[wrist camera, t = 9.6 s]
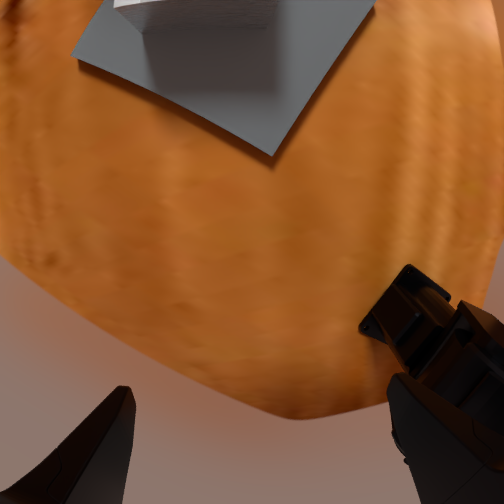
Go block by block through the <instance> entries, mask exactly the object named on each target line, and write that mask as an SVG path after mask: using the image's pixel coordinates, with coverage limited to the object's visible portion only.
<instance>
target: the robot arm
mask: <svg viewBox="0 0 504 504" xmlns="http://www.w3.org/2000/svg"><path fill="white" fill-rule="evenodd" d="M410 269H411V270H410ZM409 270H410V272H409V273H408V271H409ZM450 300H451V295H450V294H449V293H448V292H447V291H445V290H444V289H443V288H442V287H440V286H439V285H438V284H436V283H435V282H434V281H433V280H431V279H430V278H429V277H427V276H426V275H425V274H423V273H422V272H421V271H420V270H418V269H417V268H416V267H414V266H413V265H411V264H407V265H406V266H405V267H404V268H403V269H402V271H401V272H400V273H399V275H398V276H397V277H396V279H395V280H394V281H393V283H392V284H391V285H390V287H389V288H388V289H387V291H386V292H385V293H384V295H383V296H382V297H381V298H380V300H379V301H378V302H377V304H376V305H375V306H374V307H373V309H372V310H371V311H370V312H369V313H368V315H367V316H366V317H365V318H364V320H363V321H362V322H361V323H360V325H359V328H360V330H361V332H362V333H364V334H366V335H368V336H370V337H373V338H375V339H377V340H379V341H381V342H383V343H385V344H387V345H389V347H390V349H391V350H392V352H393V353H394V355H395V357H396V358H397V360H398V361H399V363H400V365H401V366H402V368H403V370H404V371H405V373H404V372H401V373H395V374H394V375H393V376H392V378H391V380H390V383H389V385H388V388H387V398H388V401H389V406H390V413H391V421H392V432H391V433H392V437H393V439H394V442H395V444H396V446H397V448H398V449H399V451H400V452H401V453H402V454H403V455H404V456H405V457H406V458H405V459H404V462H405V463H406V464H407V465H409V468H410V471H411V474H412V477H413V480H414V483H415V486H416V489H417V492H418V495H419V498H420V502H421V504H504V324H502V323H501V322H500V321H499V320H498V319H497V318H496V317H494V316H493V315H492V314H490V313H488V312H486V311H484V310H482V309H480V308H478V307H476V306H474V305H472V304H469V303H467V302H465V301H463V300H461V301H460V302H459V304H458V306H457V310H455V309H454V308H453V307H452V306H451V305H450V304H449V301H450ZM365 326H367V327H365ZM364 327H365V328H364ZM135 414H136V403H135V399H134V396H133V393H132V390H131V388H130V387H129V386H117V387H116V388H115V389H114V391H112V392H111V393H110V394H109V395H108V396H107V397H106V398H105V399H104V400H103V402H101V403H100V404H99V405H98V406H97V407H96V408H95V409H94V410H93V411H92V412H91V414H89V415H88V416H87V418H85V419H84V420H83V421H82V422H81V423H80V425H79V426H77V427H76V428H75V430H73V432H71V433H70V434H69V436H67V437H66V438H65V440H63V442H62V443H61V444H60V445H59V446H58V447H57V448H55V449H54V450H53V451H52V452H51V454H50V455H49V456H47V457H46V458H45V459H44V460H43V461H42V462H41V463H40V464H39V465H37V466H36V467H35V468H34V469H33V470H31V471H30V472H29V473H28V474H26V475H25V476H24V477H22V478H21V479H20V480H18V481H17V482H16V483H15V484H13V485H12V486H11V487H9V488H8V489H6V490H4V491H2V492H0V504H122V500H123V494H124V489H125V483H126V478H127V473H128V467H129V462H130V457H131V452H132V447H133V436H134V424H135Z"/></svg>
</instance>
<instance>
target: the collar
mask: <svg viewBox="0 0 504 504" xmlns="http://www.w3.org/2000/svg"><path fill="white" fill-rule="evenodd" d="M279 1H280V0H114V7H113V8H114V9H115V10H117V11H118V12H119V13H120V14H121V15H122V16H123V17H124V18H125V19H126V20H127V21H128V22H130V23H131V24H132V25H133V26H134V27H135V28H136V29H137V30H138V31H139V32H140V33H141V34H148V33H157V32H166V31H178V30H193V29H265V30H267V27H268V25H269V23H270V21H271V18H272V16H273V14H274V12H275V9H276V7H277V5H278V3H279Z"/></svg>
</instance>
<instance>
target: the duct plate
mask: <svg viewBox="0 0 504 504" xmlns="http://www.w3.org/2000/svg"><path fill="white" fill-rule="evenodd" d="M376 1H377V0H280V1H279V3H278V5H277V7H276V9H275V12H274V14H273V16H272V18H271V21H270V23H269V25H268V27H267V30H265V29H193V30H178V31H166V32H157V33H148V34H141V33H140V32H139V31H138V30H137V29H136V28H135V27H134V26H133V25H132V24H131V23H130V22H128V21H127V20H126V19H125V18H124V17H123V16H122V15H121V14H120V13H119V12H118V11H117V10H115V9H114V8H113V7H114V0H104V1H103V3H102V4H101V6H100V7H99V9H98V10H97V12H96V13H95V15H94V16H93V18H92V20H91V21H90V23H89V24H88V26H87V28H86V29H85V31H84V33H83V34H82V36H81V38H80V39H79V41H78V43H77V45H76V46H75V48H74V50H73V52H72V54H71V55H70V56H72V57H75V58H77V59H80V60H82V61H85V62H87V63H90V64H92V65H94V66H97V67H99V68H102V69H104V70H106V71H109V72H111V73H113V74H115V75H118V76H120V77H122V78H124V79H127V80H129V81H131V82H133V83H135V84H137V85H140V86H142V87H144V88H146V89H148V90H150V91H152V92H154V93H156V94H158V95H161V96H163V97H165V98H167V99H169V100H171V101H173V102H175V103H177V104H179V105H180V106H182V107H184V108H186V109H188V110H190V111H192V112H194V113H196V114H198V115H200V116H202V117H203V118H205V119H207V120H209V121H211V122H213V123H215V124H216V125H218V126H220V127H222V128H224V129H225V130H227V131H229V132H231V133H233V134H234V135H236V136H238V137H240V138H241V139H243V140H245V141H247V142H248V143H250V144H252V145H253V146H255V147H257V148H259V149H260V150H262V151H264V152H265V153H267V154H269V155H270V156H273V154H274V153H275V151H276V150H277V148H278V146H279V145H280V143H281V142H282V140H283V139H284V137H285V136H286V134H287V132H288V131H289V129H290V128H291V126H292V125H293V123H294V122H295V120H296V118H297V117H298V115H299V114H300V112H301V111H302V109H303V108H304V106H305V105H306V103H307V102H308V100H309V99H310V97H311V95H312V94H313V92H314V91H315V89H316V88H317V86H318V85H319V83H320V82H321V80H322V79H323V77H324V76H325V74H326V73H327V71H328V70H329V68H330V67H331V65H332V64H333V62H334V61H335V60H336V58H337V57H338V55H339V54H340V52H341V51H342V49H343V48H344V46H345V45H346V43H347V42H348V40H349V39H350V38H351V36H352V35H353V33H354V32H355V30H356V29H357V27H358V26H359V25H360V23H361V22H362V20H363V19H364V17H365V16H366V15H367V13H368V12H369V10H370V9H371V8H372V6H373V5H374V3H375V2H376Z"/></svg>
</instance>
